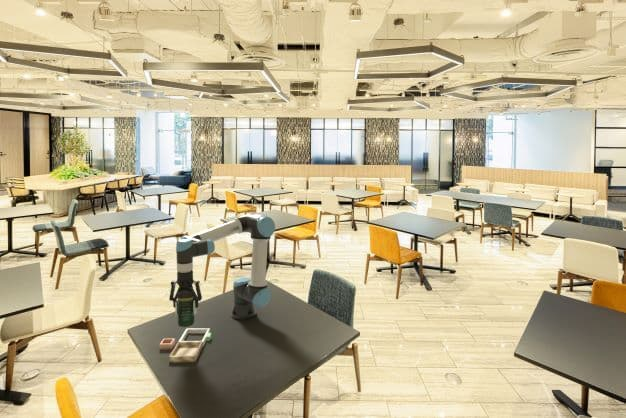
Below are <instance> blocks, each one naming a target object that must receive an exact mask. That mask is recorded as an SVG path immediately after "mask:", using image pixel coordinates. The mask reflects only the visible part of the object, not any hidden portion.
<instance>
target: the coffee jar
mask: <svg viewBox="0 0 626 418" xmlns="http://www.w3.org/2000/svg"><path fill="white" fill-rule="evenodd" d="M176 293H177V292H176ZM177 294H178V298H177V300H178V314H177V325H178V326H179V327H181V328H188V327H190V326H193V325H194V324H195V315H194V311H193V302H194V299H193V292H192V291H189V290H188V289H181V290H180V291H179V292H178V293H177Z"/></svg>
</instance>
